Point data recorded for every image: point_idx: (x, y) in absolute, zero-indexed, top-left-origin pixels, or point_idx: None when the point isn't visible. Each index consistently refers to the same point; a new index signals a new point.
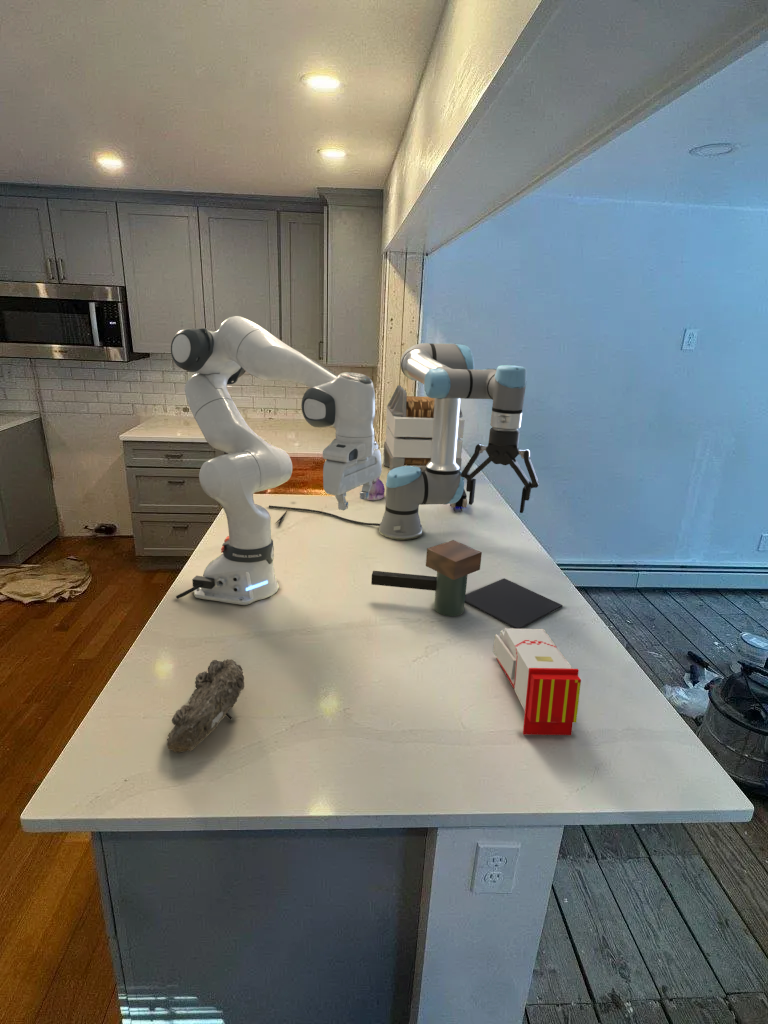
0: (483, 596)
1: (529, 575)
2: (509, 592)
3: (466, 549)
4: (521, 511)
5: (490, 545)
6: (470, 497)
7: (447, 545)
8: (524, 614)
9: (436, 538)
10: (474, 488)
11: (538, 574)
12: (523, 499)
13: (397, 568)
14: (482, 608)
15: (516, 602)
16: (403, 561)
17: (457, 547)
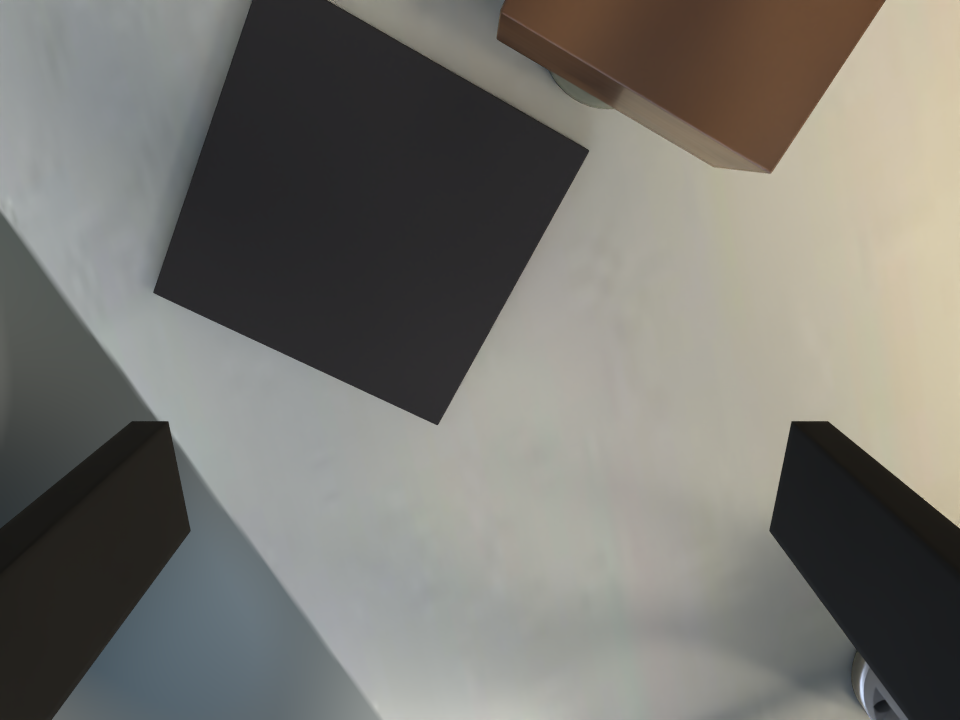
0: (484, 214)
1: (351, 505)
2: (385, 305)
3: (635, 6)
4: (136, 430)
5: (555, 687)
6: (871, 475)
7: (808, 17)
8: (273, 123)
9: (781, 664)
10: (894, 660)
11: (320, 528)
12: (5, 531)
13: (916, 326)
14: (462, 89)
15: (334, 224)
16: (897, 405)
17: (717, 13)
